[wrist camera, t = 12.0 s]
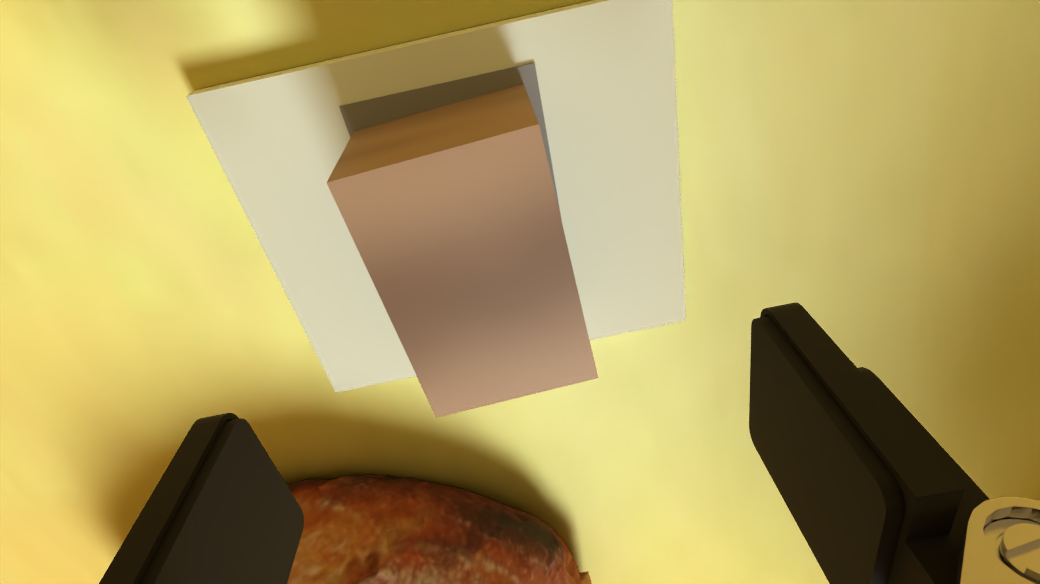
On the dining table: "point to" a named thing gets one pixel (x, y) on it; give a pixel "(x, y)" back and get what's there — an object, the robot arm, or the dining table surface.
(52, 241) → the dining table surface
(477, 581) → the bread
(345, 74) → the mat
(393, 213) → the brown rectangular block
